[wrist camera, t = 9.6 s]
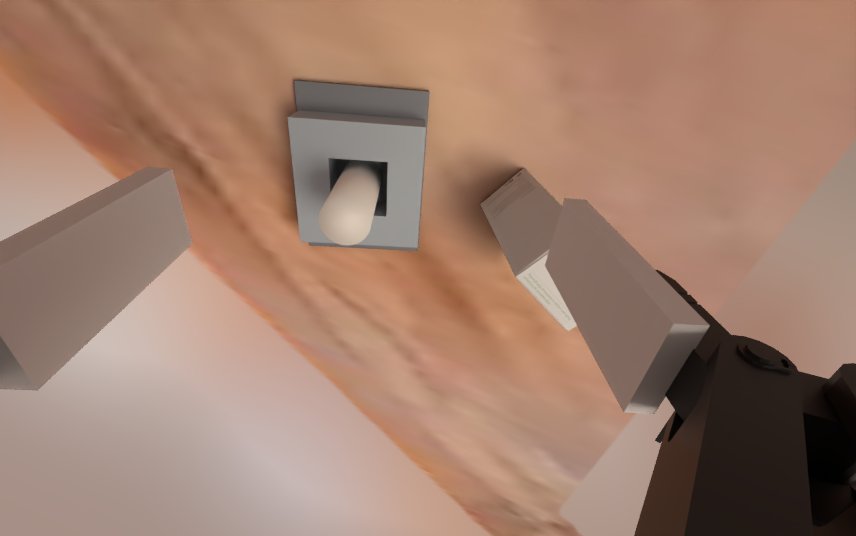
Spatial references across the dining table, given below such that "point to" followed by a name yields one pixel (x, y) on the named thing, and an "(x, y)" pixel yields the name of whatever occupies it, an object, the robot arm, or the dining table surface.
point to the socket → (360, 155)
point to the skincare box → (528, 237)
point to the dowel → (351, 203)
